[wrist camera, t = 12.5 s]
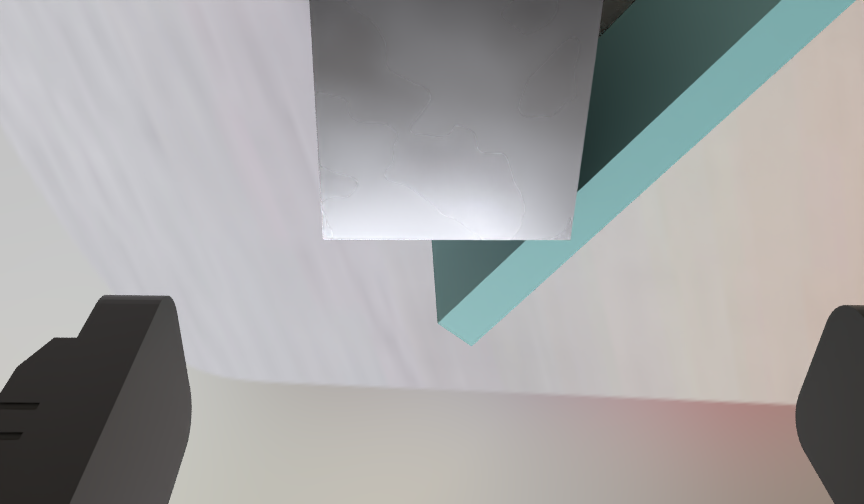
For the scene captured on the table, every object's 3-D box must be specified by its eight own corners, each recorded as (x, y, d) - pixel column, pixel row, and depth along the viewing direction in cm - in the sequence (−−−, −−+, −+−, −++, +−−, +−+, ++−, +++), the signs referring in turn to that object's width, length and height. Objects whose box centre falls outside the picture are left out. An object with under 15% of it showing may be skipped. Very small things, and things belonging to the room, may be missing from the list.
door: (923, -296, 19) (1121, -320, 14) (949, -257, 19) (1150, -265, 14) (429, 211, 25) (437, 323, 20) (456, 232, 26) (471, 346, 21)
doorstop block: (541, -104, 21) (609, -42, 14) (521, 107, 24) (570, 240, 17) (336, -108, 21) (306, -47, 14) (344, 105, 24) (323, 239, 17)
